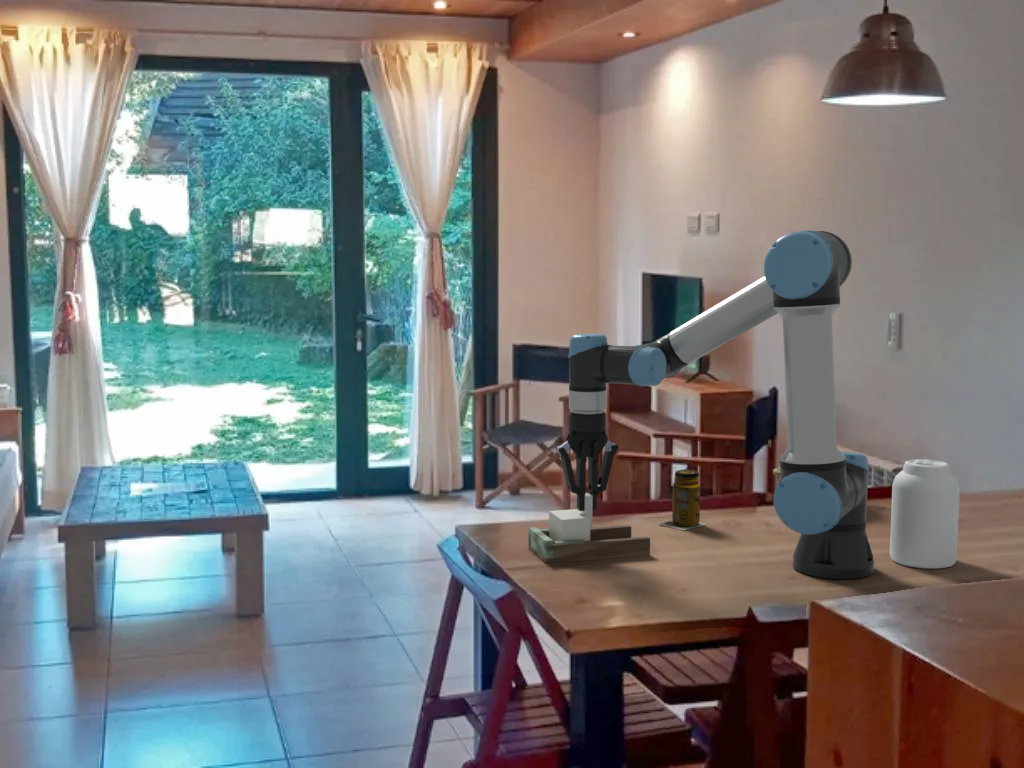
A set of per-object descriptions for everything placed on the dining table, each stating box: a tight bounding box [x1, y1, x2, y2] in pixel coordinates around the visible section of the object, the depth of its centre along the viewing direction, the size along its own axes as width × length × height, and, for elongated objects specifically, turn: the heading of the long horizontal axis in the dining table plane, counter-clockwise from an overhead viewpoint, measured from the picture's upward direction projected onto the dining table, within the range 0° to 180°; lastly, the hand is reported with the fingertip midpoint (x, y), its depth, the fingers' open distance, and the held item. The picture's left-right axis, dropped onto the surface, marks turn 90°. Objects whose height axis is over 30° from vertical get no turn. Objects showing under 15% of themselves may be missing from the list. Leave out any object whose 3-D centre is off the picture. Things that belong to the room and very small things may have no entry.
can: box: [889, 458, 961, 570], centre depth 235 cm, size 12×12×20 cm
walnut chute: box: [528, 524, 651, 565], centre depth 243 cm, size 12×22×4 cm, turn 106°
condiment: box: [658, 469, 707, 531], centre depth 265 cm, size 7×8×12 cm
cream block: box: [548, 508, 590, 541], centre depth 241 cm, size 8×6×7 cm
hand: (586, 525), depth 242 cm, fingers closed
